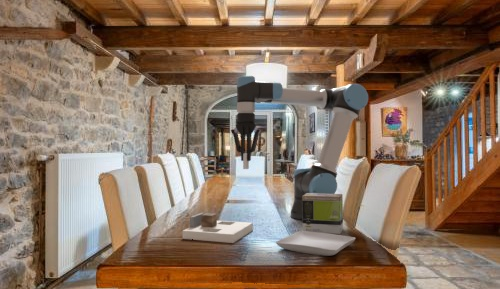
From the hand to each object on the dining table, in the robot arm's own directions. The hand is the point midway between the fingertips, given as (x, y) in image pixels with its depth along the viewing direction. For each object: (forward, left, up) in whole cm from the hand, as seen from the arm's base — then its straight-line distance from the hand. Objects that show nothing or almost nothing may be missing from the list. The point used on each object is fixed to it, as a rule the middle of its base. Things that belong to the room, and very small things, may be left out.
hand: (246, 168), depth 172 cm
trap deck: (+5, +17, -24) cm, 30 cm away
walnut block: (+9, +17, -21) cm, 29 cm away
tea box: (-32, -2, -25) cm, 40 cm away
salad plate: (-34, +25, -25) cm, 49 cm away
